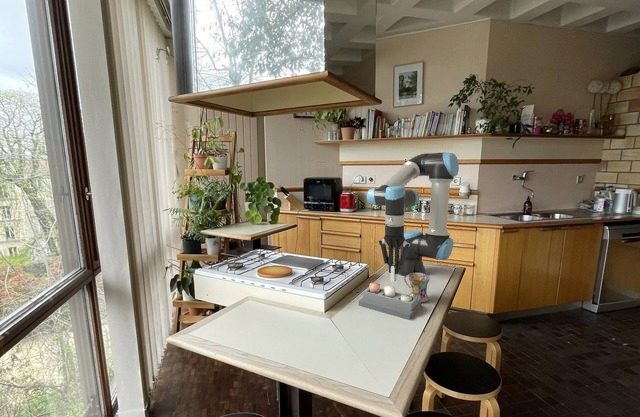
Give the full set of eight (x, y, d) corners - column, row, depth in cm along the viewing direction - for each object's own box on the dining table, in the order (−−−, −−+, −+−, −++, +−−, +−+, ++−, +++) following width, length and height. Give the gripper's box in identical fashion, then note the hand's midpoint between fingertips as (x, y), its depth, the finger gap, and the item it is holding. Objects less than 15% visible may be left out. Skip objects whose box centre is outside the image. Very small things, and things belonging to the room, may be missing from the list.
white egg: (387, 293, 132) (387, 285, 131) (396, 295, 129) (397, 287, 129) (382, 296, 128) (382, 288, 128) (392, 299, 126) (392, 291, 125)
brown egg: (372, 289, 136) (372, 281, 135) (381, 291, 133) (381, 284, 133) (367, 292, 132) (367, 285, 132) (377, 295, 130) (377, 287, 129)
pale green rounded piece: (402, 301, 128) (402, 293, 127) (413, 304, 125) (413, 296, 125) (398, 305, 124) (398, 297, 124) (409, 308, 122) (409, 299, 121)
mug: (433, 299, 135) (434, 276, 133) (421, 306, 129) (422, 281, 127) (409, 291, 144) (410, 269, 142) (397, 297, 138) (398, 274, 136)
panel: (373, 294, 141) (373, 283, 141) (421, 306, 129) (421, 294, 128) (358, 305, 130) (358, 294, 129) (409, 319, 117) (409, 307, 117)
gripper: (375, 224, 124) (375, 280, 128) (407, 228, 117) (406, 287, 120) (382, 222, 131) (382, 275, 134) (413, 224, 123) (411, 281, 127)
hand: (393, 280), depth 127 cm, fingers closed
